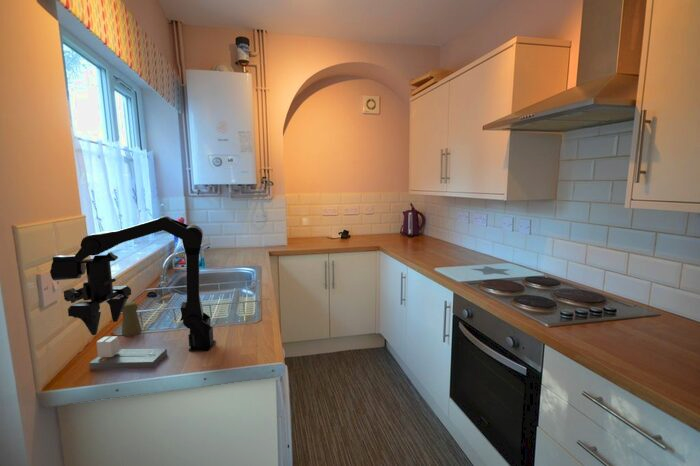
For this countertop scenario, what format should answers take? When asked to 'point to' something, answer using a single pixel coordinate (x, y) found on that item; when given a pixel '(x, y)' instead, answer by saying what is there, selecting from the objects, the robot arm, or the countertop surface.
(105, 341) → the block
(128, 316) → the cork
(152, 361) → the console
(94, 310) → the robot arm
